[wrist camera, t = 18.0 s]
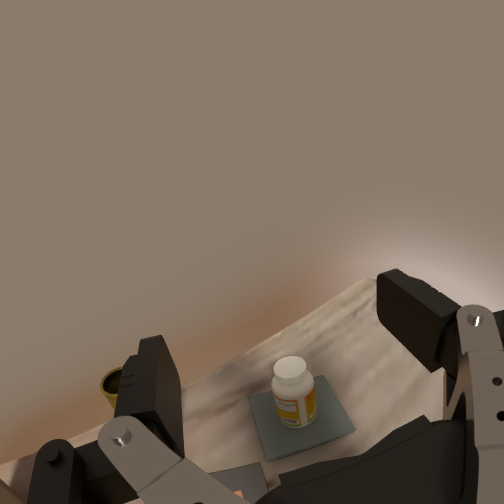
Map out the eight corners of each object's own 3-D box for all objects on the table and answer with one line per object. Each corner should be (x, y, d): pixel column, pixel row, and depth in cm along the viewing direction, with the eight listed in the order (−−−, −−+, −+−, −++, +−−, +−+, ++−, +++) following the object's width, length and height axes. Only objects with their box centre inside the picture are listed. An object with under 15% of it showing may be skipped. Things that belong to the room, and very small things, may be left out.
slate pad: (267, 461, 33) (266, 459, 33) (249, 400, 45) (248, 397, 44) (355, 431, 35) (355, 428, 35) (323, 377, 46) (322, 374, 46)
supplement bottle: (308, 395, 42) (302, 346, 39) (323, 420, 37) (319, 371, 34) (273, 408, 41) (262, 360, 38) (285, 434, 36) (275, 387, 33)
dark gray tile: (192, 542, 23) (191, 542, 23) (184, 478, 32) (184, 477, 32) (279, 527, 24) (279, 526, 24) (259, 463, 33) (259, 462, 33)
